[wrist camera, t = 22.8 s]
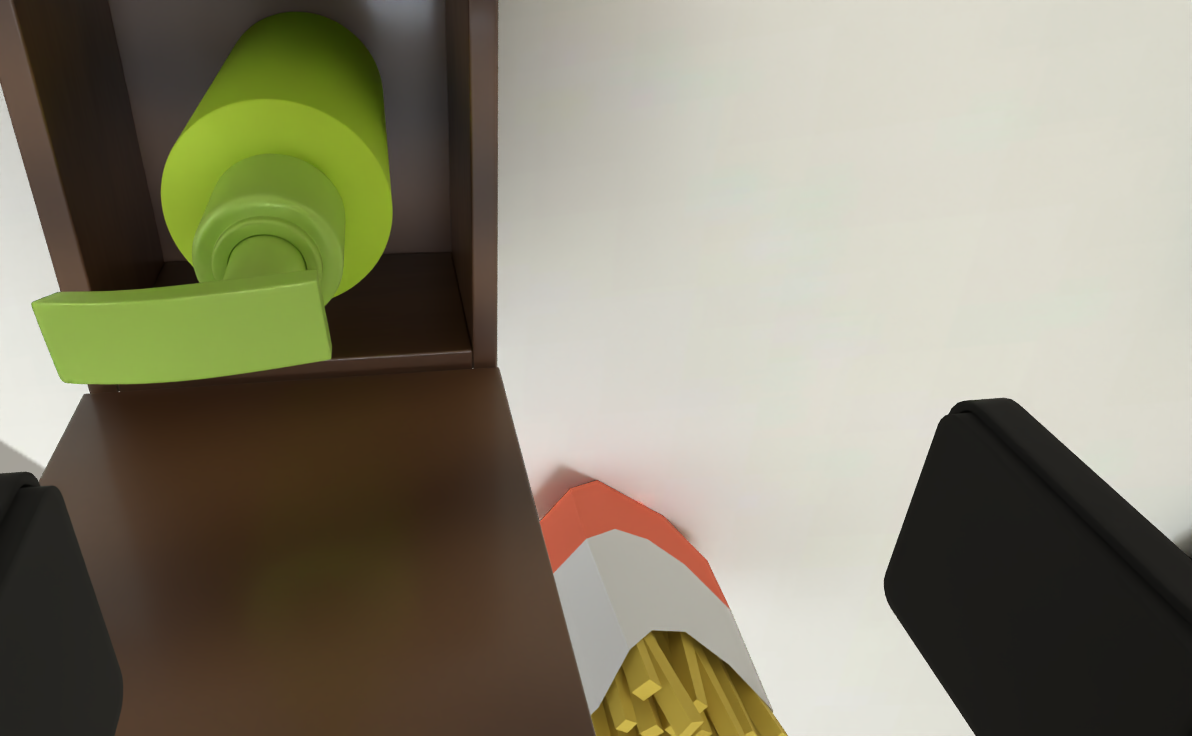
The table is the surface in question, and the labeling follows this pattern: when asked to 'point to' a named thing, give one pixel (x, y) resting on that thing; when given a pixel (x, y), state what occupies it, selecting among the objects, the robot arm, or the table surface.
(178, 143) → the soap dispenser
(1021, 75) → the table surface
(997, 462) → the robot arm
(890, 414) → the table surface
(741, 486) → the table surface
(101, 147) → the chest
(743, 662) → the french fries container
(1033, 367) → the table surface
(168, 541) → the lid
